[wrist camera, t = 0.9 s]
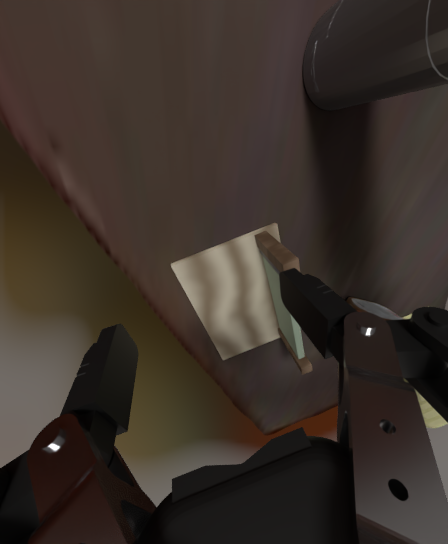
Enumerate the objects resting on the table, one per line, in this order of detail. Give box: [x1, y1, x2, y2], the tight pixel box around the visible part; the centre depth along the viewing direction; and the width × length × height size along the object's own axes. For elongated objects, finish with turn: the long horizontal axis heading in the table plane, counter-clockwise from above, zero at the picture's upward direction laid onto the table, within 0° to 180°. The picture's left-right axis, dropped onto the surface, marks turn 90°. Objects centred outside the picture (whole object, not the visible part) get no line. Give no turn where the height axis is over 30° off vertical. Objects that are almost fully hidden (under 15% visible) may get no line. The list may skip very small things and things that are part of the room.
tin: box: [346, 297, 404, 320], centre depth 45 cm, size 15×3×8 cm, turn 69°
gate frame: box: [171, 223, 312, 375], centre depth 36 cm, size 18×27×11 cm, turn 18°
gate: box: [260, 250, 305, 359], centre depth 36 cm, size 2×21×8 cm, turn 18°
